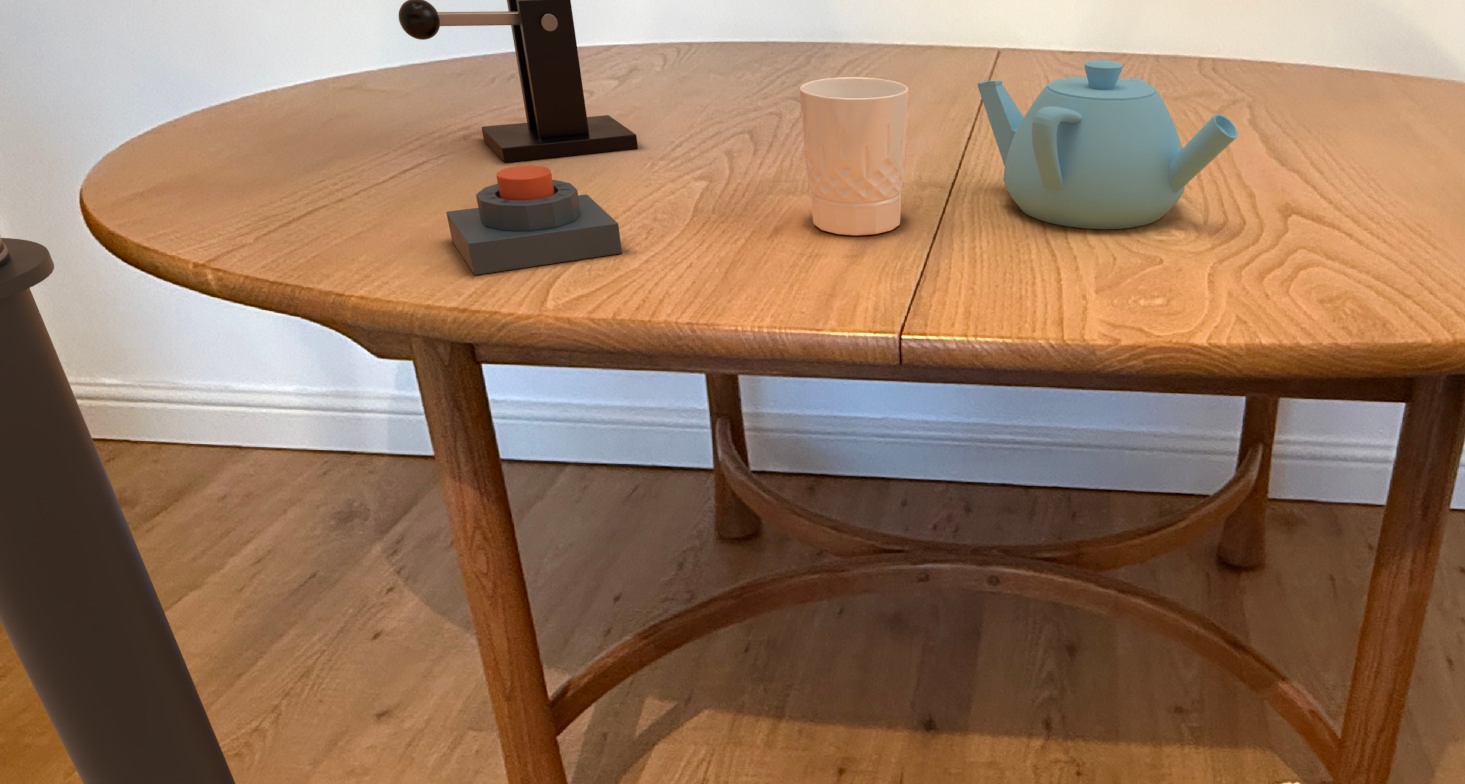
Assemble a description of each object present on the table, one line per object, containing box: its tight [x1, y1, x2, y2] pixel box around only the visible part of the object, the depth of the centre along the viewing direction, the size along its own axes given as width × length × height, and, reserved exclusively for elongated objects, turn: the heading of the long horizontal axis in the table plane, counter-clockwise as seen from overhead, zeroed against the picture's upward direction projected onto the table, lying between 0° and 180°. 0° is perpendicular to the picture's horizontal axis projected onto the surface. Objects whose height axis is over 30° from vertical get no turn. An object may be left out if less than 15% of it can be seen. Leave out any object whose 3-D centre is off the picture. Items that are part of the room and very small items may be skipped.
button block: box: [446, 179, 623, 276], centre depth 80 cm, size 10×8×4 cm
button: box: [495, 165, 555, 200], centre depth 79 cm, size 4×4×2 cm
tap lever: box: [398, 0, 520, 41], centre depth 98 cm, size 13×3×3 cm, turn 121°
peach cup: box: [799, 76, 909, 236], centre depth 85 cm, size 8×8×10 cm
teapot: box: [977, 59, 1239, 230], centre depth 90 cm, size 15×17×11 cm
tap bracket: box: [481, 0, 639, 164], centre depth 103 cm, size 12×9×13 cm
